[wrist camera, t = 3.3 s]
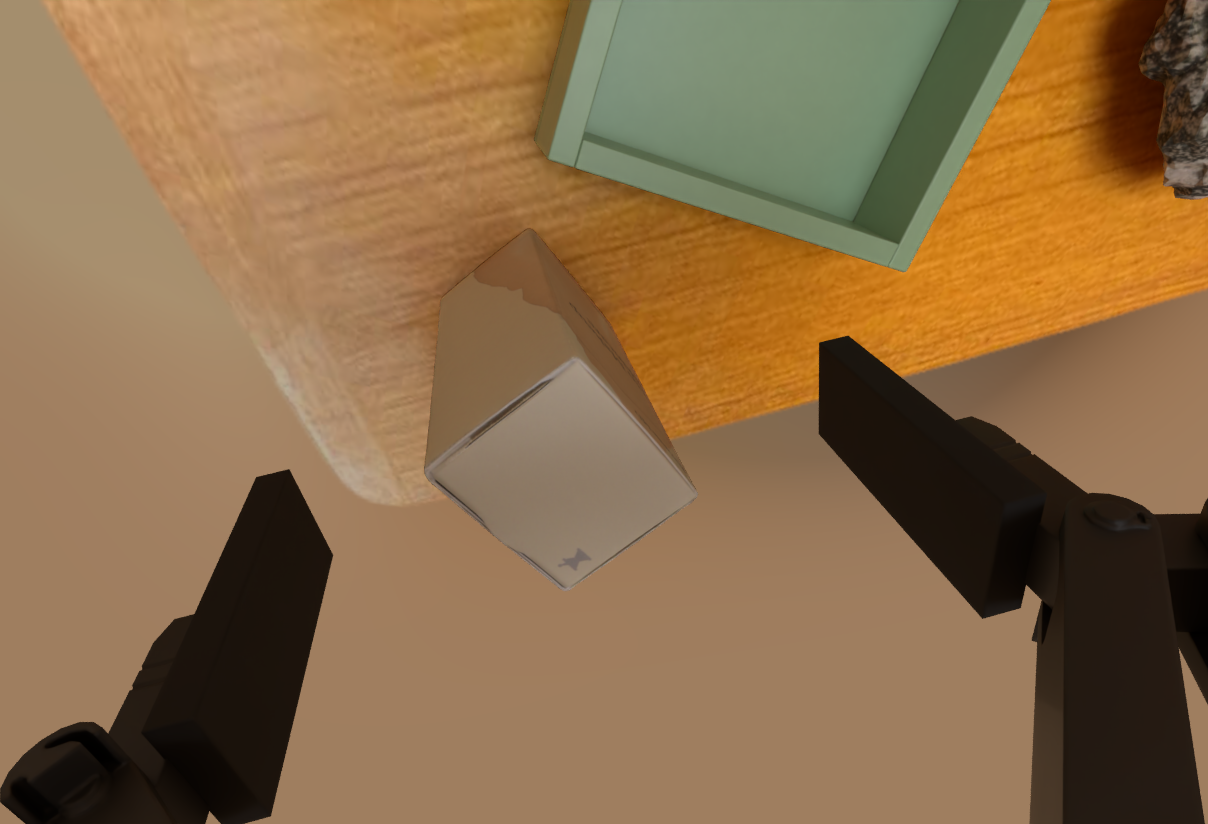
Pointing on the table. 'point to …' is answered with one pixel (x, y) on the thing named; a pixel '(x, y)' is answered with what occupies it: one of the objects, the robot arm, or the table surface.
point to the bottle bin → (786, 107)
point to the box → (545, 419)
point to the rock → (1182, 94)
